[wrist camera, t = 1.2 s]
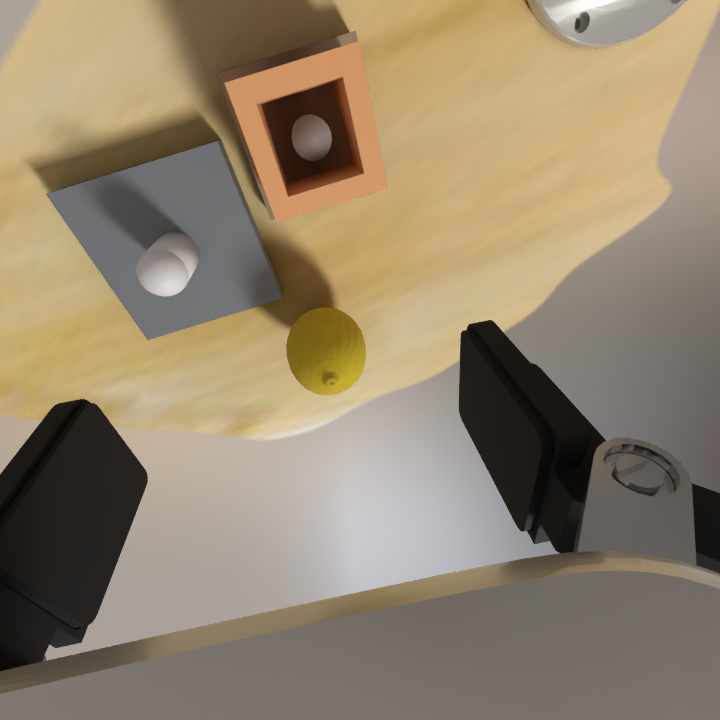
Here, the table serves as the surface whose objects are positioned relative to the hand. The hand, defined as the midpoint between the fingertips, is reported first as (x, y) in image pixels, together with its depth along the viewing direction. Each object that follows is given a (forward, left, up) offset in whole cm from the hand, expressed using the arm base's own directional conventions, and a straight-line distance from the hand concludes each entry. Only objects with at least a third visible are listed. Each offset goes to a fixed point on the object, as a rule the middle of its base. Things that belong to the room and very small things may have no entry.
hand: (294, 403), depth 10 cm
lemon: (0, +8, -19) cm, 21 cm away
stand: (-3, -5, -19) cm, 20 cm away
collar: (-3, -5, -17) cm, 18 cm away
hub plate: (+7, -1, -19) cm, 20 cm away
